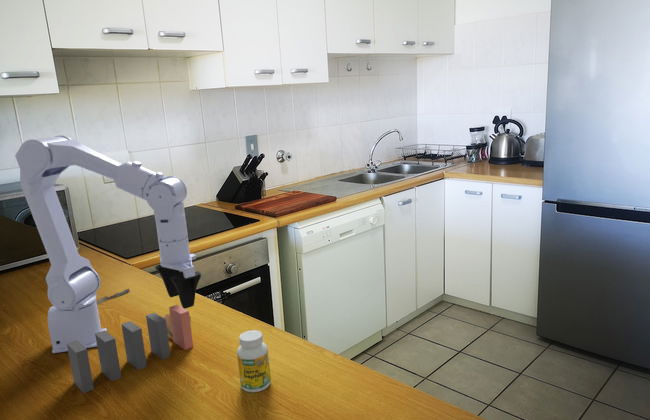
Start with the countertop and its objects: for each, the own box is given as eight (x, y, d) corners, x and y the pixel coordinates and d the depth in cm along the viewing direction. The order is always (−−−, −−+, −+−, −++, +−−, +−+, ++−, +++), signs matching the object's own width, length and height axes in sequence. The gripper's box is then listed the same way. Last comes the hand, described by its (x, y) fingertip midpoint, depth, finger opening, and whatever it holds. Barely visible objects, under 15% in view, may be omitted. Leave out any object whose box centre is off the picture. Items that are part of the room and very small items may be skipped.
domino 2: (111, 381, 91) (105, 342, 90) (101, 371, 95) (94, 333, 93) (121, 377, 93) (114, 338, 91) (111, 367, 96) (104, 330, 94)
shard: (175, 343, 105) (174, 336, 105) (140, 343, 106) (139, 336, 106) (192, 320, 116) (192, 313, 115) (161, 320, 117) (160, 313, 116)
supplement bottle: (269, 374, 91) (264, 326, 89) (272, 390, 86) (268, 339, 84) (239, 379, 90) (234, 330, 88) (241, 395, 85) (236, 345, 83)
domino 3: (138, 370, 95) (132, 331, 93) (127, 361, 98) (121, 324, 96) (147, 366, 96) (141, 328, 94) (136, 357, 99) (130, 321, 98)
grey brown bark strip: (82, 305, 129) (88, 311, 125) (81, 301, 128) (87, 307, 125) (127, 290, 136) (134, 296, 132) (127, 286, 136) (134, 292, 132)
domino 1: (83, 393, 88) (76, 352, 86) (74, 382, 92) (66, 343, 90) (94, 389, 89) (86, 348, 87) (84, 378, 93) (77, 340, 91)
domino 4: (162, 359, 98) (157, 322, 96) (151, 351, 102) (145, 315, 100) (170, 356, 99) (165, 319, 97) (159, 348, 103) (154, 312, 101)
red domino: (185, 349, 101) (180, 313, 100) (173, 342, 105) (169, 307, 103) (193, 346, 103) (188, 310, 101) (181, 339, 106) (176, 304, 104)
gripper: (206, 241, 96) (214, 306, 99) (179, 227, 107) (186, 286, 110) (170, 249, 92) (179, 317, 95) (146, 234, 103) (155, 295, 106)
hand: (181, 301), depth 102 cm, fingers open, 7 cm apart
